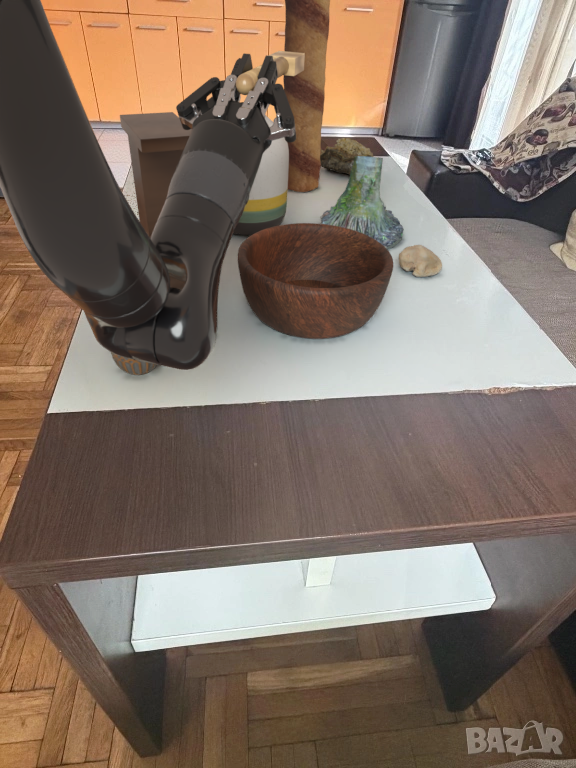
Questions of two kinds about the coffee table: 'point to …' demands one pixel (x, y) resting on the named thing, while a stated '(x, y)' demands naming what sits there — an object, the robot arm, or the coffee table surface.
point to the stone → (420, 261)
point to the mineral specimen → (343, 155)
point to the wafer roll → (306, 88)
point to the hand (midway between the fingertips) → (259, 62)
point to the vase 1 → (133, 365)
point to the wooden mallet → (285, 66)
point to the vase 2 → (267, 190)
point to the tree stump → (365, 205)
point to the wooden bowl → (313, 278)
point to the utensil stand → (154, 162)
